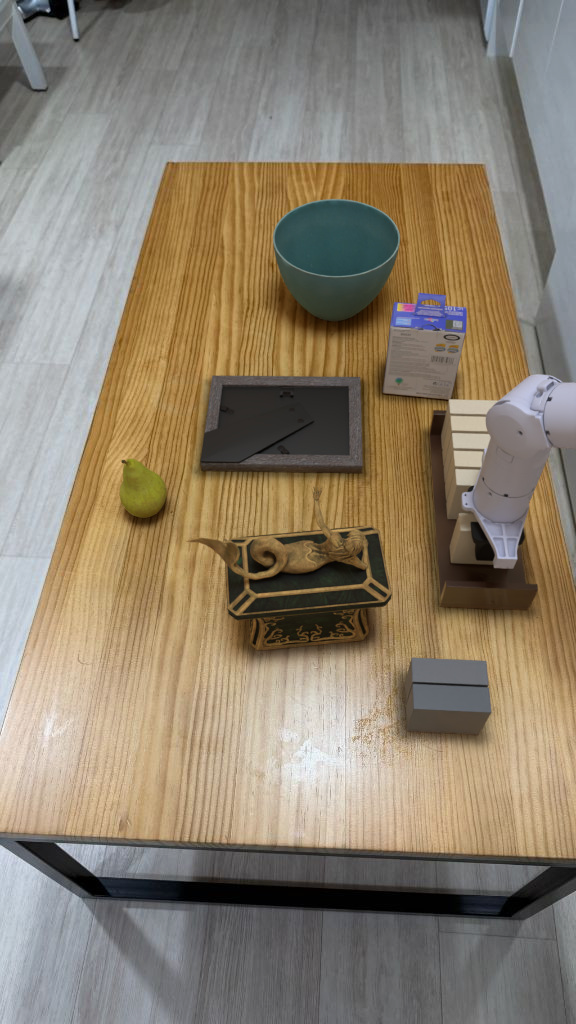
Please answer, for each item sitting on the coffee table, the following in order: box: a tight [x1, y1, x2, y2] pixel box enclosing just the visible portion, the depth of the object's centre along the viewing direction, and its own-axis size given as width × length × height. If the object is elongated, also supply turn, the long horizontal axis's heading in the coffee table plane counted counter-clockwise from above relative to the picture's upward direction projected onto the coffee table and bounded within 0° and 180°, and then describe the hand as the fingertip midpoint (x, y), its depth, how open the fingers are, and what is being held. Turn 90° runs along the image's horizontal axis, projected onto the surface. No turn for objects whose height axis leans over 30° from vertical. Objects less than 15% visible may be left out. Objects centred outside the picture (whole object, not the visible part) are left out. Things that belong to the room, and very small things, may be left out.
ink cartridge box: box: [382, 292, 468, 401], centre depth 100 cm, size 10×6×14 cm, turn 81°
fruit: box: [119, 458, 168, 519], centre depth 90 cm, size 6×6×12 cm
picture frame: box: [199, 375, 364, 474], centre depth 101 cm, size 16×2×21 cm
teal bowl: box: [272, 198, 401, 322], centre depth 112 cm, size 18×18×12 cm
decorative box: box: [185, 484, 393, 651], centre depth 78 cm, size 20×10×20 cm, turn 95°
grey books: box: [404, 657, 492, 736], centre depth 76 cm, size 5×8×6 cm
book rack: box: [428, 409, 539, 611], centre depth 91 cm, size 26×10×5 cm, turn 177°
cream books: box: [441, 398, 499, 519], centre depth 93 cm, size 14×7×7 cm, turn 177°
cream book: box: [450, 513, 526, 565], centre depth 85 cm, size 2×7×7 cm, turn 87°
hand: (483, 547), depth 87 cm, fingers closed on cream book, 2 cm apart
